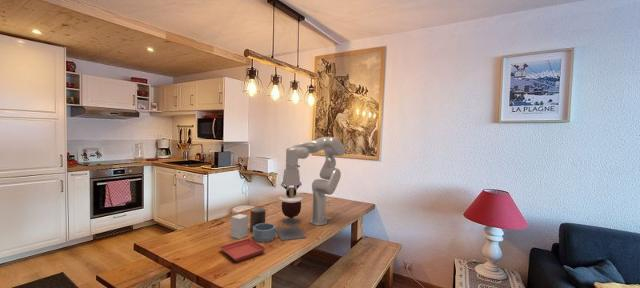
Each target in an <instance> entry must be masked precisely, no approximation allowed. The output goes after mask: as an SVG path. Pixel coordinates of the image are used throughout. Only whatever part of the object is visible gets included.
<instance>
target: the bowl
mask: <svg viewBox="0 0 640 288" xmlns="http://www.w3.org/2000/svg"><path fill="white" fill-rule="evenodd" d="M276 228H277V227H276V225H275V224H274V223H270V222H265V223H260V224H257V225H255V226H253V232H252V236H253V241H255V242H257V243H268V242H272V241H273V240H274V239H275V237H276V235H277V233H276Z"/></svg>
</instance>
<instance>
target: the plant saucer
mask: <svg viewBox="0 0 640 288" xmlns="http://www.w3.org/2000/svg"><path fill="white" fill-rule="evenodd" d="M219 249H220V250H221V251H222V252H223V253H224V254H226V255H227V256H228V257H229V258H231V259H232V260H233V261H235V262H241V261H244V260H246V259H250V258H253V257H256V256H258V255H261V254H262V253H263V252H264V251H265V250H266V247H264V246H263V245H262V244H260V243H259V242H257V241H255V240H254V239H251V238H245V239H242V240H238V241H235V242H231V243H229V244H224V245H221V246H219Z"/></svg>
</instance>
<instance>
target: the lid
mask: <svg viewBox="0 0 640 288" xmlns="http://www.w3.org/2000/svg"><path fill="white" fill-rule="evenodd" d="M278 200H279V201H280V202H281V203H282V202H287V203H295V202H300V201H301V202H302V201H303V200H304V196H302V195H300V194H296V196H294V186H292V187H291V186H289V197H288V196H287V195H286V194H283V195H280V196H279V198H278Z"/></svg>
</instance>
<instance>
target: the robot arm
mask: <svg viewBox="0 0 640 288" xmlns="http://www.w3.org/2000/svg"><path fill="white" fill-rule="evenodd" d="M320 151H323V152H324V157H325V161H324V163H323V164H322V168H321V169H320V172H319V177H320V178H318V179H317V178H316V179H314V180H313V181H312V183H311V189H312V190H311V191H312V208H311V210H312V211H311V212H312V215H311V219H310V220H309V223H310V224H311V225H314V226H324V225H327V224H328V221H330V220H332V216H328V215H327V216H326V212H327V211H326V210H327V209H326V208H327V207H326V206H327V205H326V203H327V198H326V195H329V196H331V195H333V194H334V192H335V191H336V189H337V187H338V185H339V182H340V180H341V174H342V173H341V171H340V169H339V168H338V167H336V166H337V161H336V159H335V158H336V157H335V156H338V157H343V156H344V155H345V153H346V147H345V146H344V144H343V143H341V141H340V140H338V138H336V137H333V136H322V137H319V138H315V139H313V140H310V141H307V142H301V143H297V144H294V145H293V146H291V147H288V148H286V149H285V169H284V170H283V176H282V177H283V178H282V182H281V183H280V186H281V187H282V188H284V189H285V190H286V191H285V195H287V196H288V197H289V187H291V186H293V188H294V196H296V195H297V190H298V189H299V187H301V186H302V182H301V179H300V170H299V168H301V165H299V159H301V160H302V159H303V160H306V159H307V158H308V157H309V155H310V154H315V153H316V154H317V153H318V152H320Z"/></svg>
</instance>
